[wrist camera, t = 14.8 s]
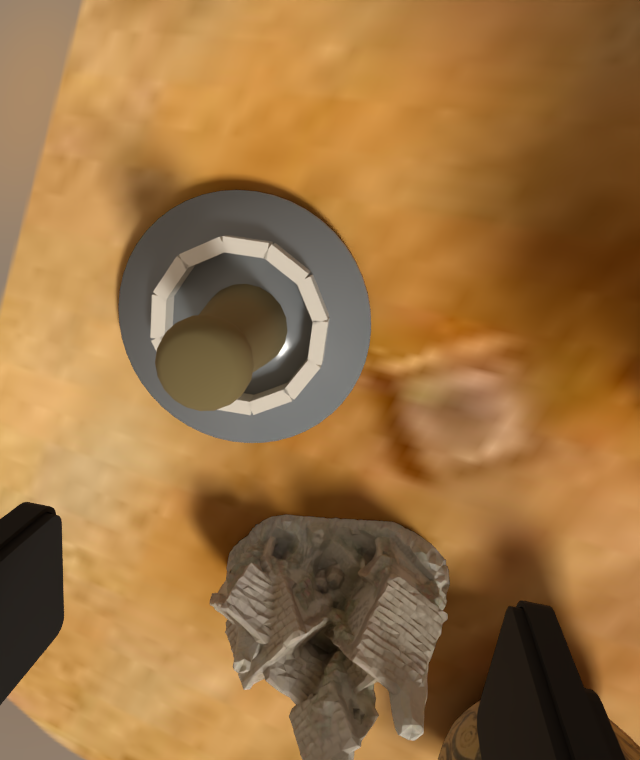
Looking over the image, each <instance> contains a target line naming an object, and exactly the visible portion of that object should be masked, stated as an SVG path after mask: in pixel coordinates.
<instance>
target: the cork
mask: <svg viewBox="0 0 640 760" xmlns="http://www.w3.org/2000/svg"><path fill="white" fill-rule="evenodd" d="M286 335H287V322H286V316H285V314H284V312H283V309H282V307H281V305H280V304H279V303H278V301H277V300H276V299H275V298H274V297H273V296H272V294H270V293H268V292H267V291H265V290H263V289H262V288H260V287H257V286H253V285H249V284H236V285H231V286H229V287H226V288H224V289H222V290H220V291H219V292H218V293H217V294H216V295H215V296H214V297H212V298H211V300H210V301H209V302H208V303H207V305H206V306H205V307H204V309H203V310H202V311H201V313H200V314H199V315H194V316H191V317H188V318H186V319H183V320H181V321H179V322H177V323H175V324H174V325H173V326H172V327H171V328H170V329H169V330H168V331H167V332H165V334H164V336H163V338H162V340H161V342H160V344H159V346H158V348H157V352H156V359H155V366H156V371H157V377H158V379H159V381H160V383H161V384H162V386H163V388H164V390H165V391H166V392H167V393H168V394H169V395H170V396H171V397H172V398H173V399H174V400H175V401H176V402H178V403H180V404H181V405H183V406H185V407H187V408H190V409H194V410H198V411H215V410H217V409H220V408H223V407H225V406H228V405H231V404H232V403H233V402H234V401H236V400H237V399H238V398H239V397H241V396H242V394H243V393H244V391H245V390H246V388H247V386H248V385H249V383H250V381H251V379H252V374H253V372H255V371H256V370H258V369H259V368H261V367H262V366H264V365H265V364H267V363H268V362H270V361H271V360H272V359H273V358H275V357H276V356H277V355H278V354H279V352H280V351H281V349H282V347H283V346H284V344H285V340H286Z"/></svg>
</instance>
